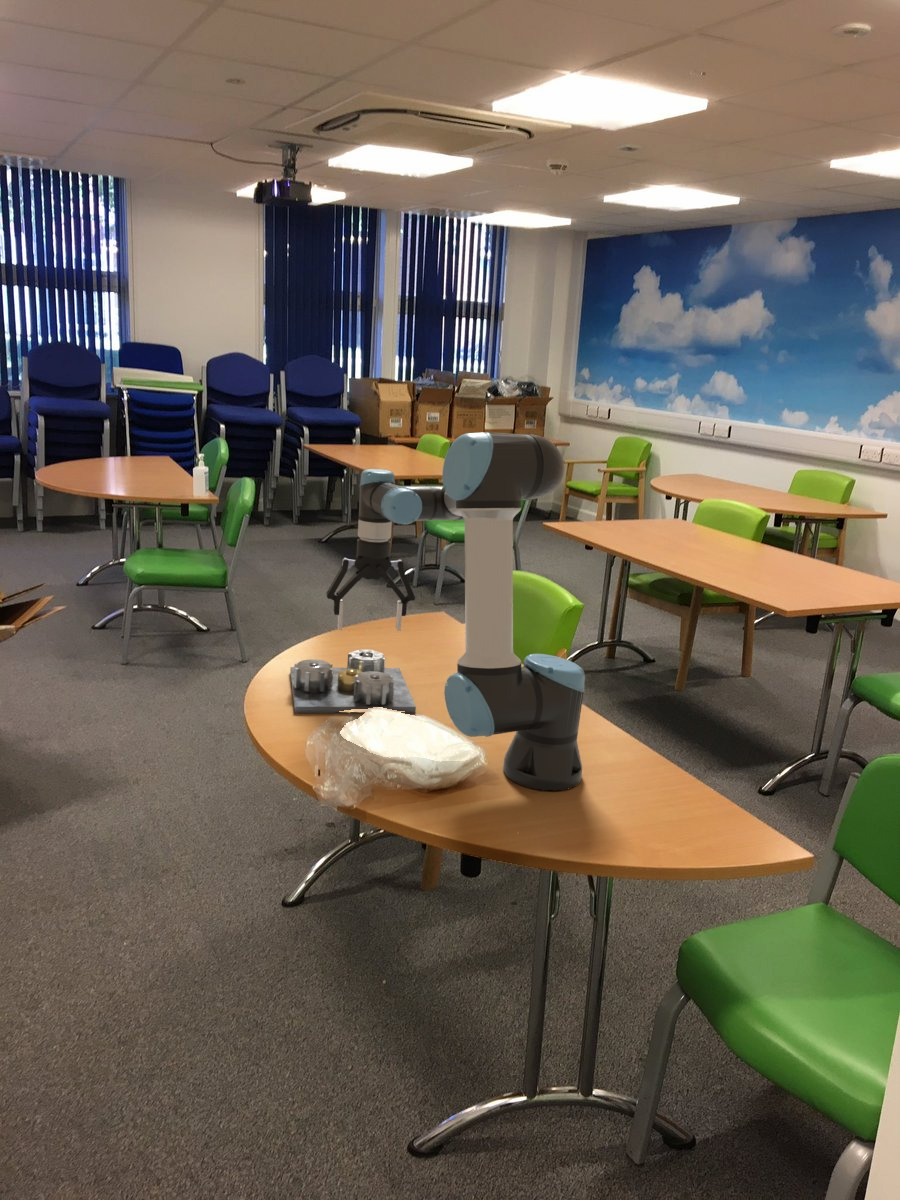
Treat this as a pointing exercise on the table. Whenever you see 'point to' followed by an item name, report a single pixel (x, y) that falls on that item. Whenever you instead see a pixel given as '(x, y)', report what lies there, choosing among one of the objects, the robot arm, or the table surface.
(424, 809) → the table surface
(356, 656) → the planet gear
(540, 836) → the table surface
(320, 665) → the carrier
